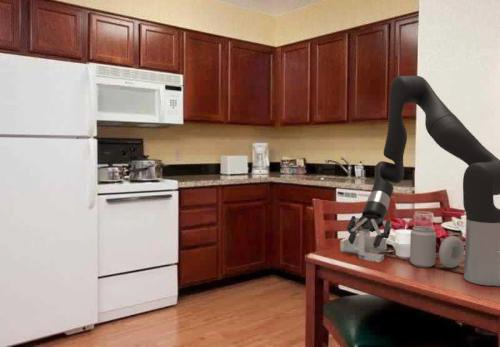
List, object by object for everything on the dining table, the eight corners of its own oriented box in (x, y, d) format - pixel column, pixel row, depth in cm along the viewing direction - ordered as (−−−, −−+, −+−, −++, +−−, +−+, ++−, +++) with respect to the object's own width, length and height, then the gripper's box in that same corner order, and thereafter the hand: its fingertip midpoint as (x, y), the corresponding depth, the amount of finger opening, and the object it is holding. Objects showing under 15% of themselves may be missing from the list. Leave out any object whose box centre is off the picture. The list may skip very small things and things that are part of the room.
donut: (446, 271, 127) (447, 239, 126) (435, 269, 130) (436, 236, 129) (465, 266, 132) (466, 235, 131) (455, 264, 135) (456, 233, 134)
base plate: (385, 250, 152) (385, 248, 152) (373, 256, 144) (373, 255, 144) (356, 245, 159) (356, 244, 159) (343, 251, 150) (343, 250, 150)
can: (437, 268, 130) (438, 230, 129) (412, 267, 131) (412, 229, 130) (432, 262, 137) (433, 225, 136) (408, 260, 139) (408, 224, 138)
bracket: (383, 259, 141) (384, 231, 140) (378, 262, 137) (379, 233, 136) (363, 255, 145) (364, 228, 144) (358, 258, 141) (358, 230, 141)
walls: (386, 249, 153) (386, 238, 153) (373, 256, 144) (373, 245, 143) (354, 244, 161) (355, 234, 160) (340, 251, 151) (340, 240, 151)
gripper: (354, 198, 152) (339, 235, 143) (394, 201, 143) (380, 241, 135) (360, 211, 156) (346, 247, 148) (399, 215, 147) (386, 254, 139)
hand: (362, 244), depth 141 cm, fingers open, 8 cm apart
